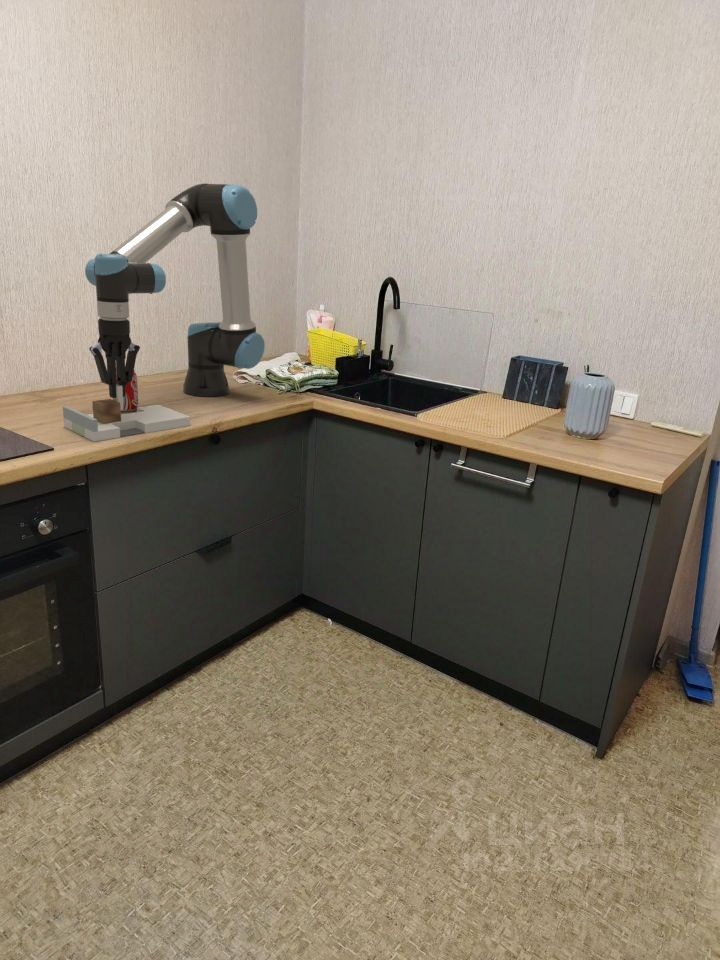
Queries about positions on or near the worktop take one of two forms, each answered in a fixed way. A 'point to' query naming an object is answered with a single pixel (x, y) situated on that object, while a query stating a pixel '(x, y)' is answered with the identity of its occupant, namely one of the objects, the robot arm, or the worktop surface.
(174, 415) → the platform
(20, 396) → the worktop surface
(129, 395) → the soda can
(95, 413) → the block
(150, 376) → the worktop surface
